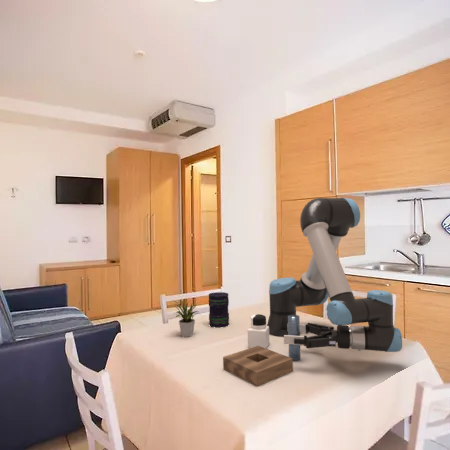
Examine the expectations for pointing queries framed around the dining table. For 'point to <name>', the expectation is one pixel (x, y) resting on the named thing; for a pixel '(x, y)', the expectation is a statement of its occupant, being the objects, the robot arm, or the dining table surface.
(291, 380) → the dining table surface
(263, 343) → the medicine bottle
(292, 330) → the pin
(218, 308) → the storage jar
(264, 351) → the socket block
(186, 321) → the house plant
